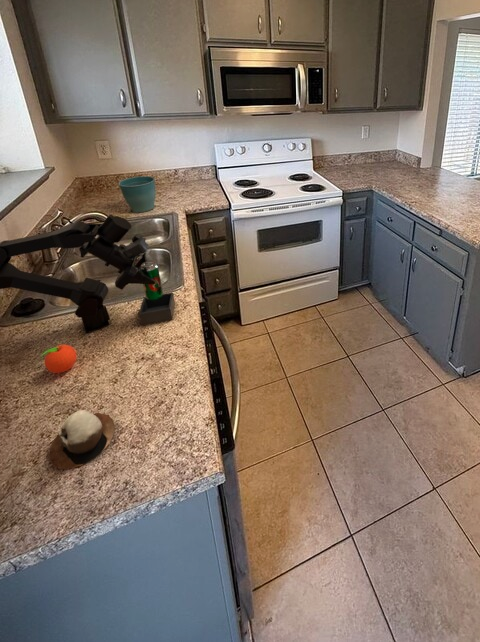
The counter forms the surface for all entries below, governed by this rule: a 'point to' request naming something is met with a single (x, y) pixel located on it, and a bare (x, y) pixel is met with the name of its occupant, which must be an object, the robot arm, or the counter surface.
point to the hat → (81, 439)
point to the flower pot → (139, 193)
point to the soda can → (153, 272)
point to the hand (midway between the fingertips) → (156, 278)
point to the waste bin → (157, 309)
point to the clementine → (60, 358)
